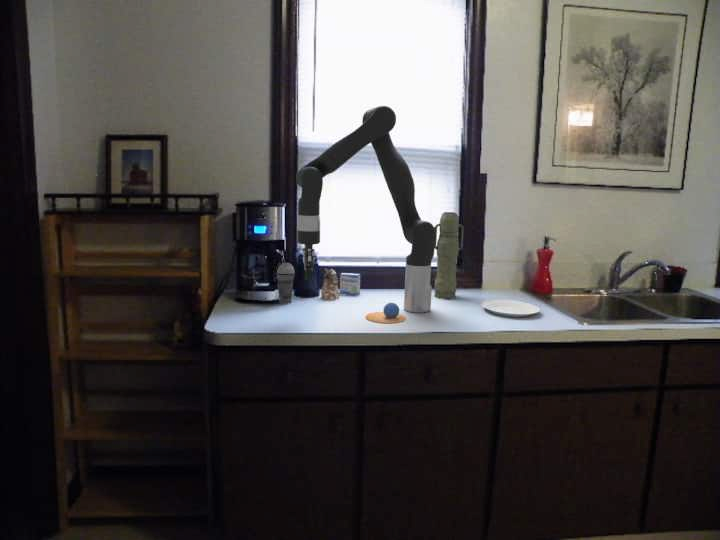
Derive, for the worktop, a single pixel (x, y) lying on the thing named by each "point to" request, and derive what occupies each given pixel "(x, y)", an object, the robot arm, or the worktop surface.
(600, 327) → the worktop surface
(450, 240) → the thermos
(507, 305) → the plate
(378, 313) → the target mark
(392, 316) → the ball
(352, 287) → the medicine box
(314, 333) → the worktop surface
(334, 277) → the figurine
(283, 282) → the beverage cup
